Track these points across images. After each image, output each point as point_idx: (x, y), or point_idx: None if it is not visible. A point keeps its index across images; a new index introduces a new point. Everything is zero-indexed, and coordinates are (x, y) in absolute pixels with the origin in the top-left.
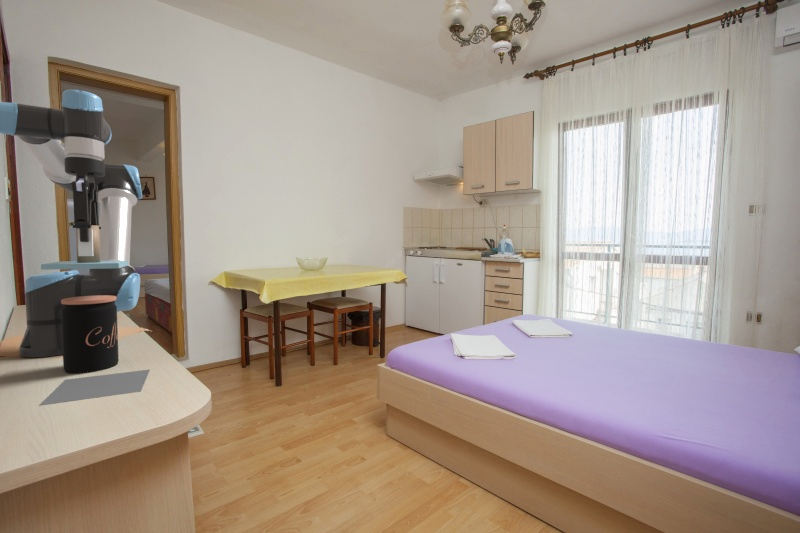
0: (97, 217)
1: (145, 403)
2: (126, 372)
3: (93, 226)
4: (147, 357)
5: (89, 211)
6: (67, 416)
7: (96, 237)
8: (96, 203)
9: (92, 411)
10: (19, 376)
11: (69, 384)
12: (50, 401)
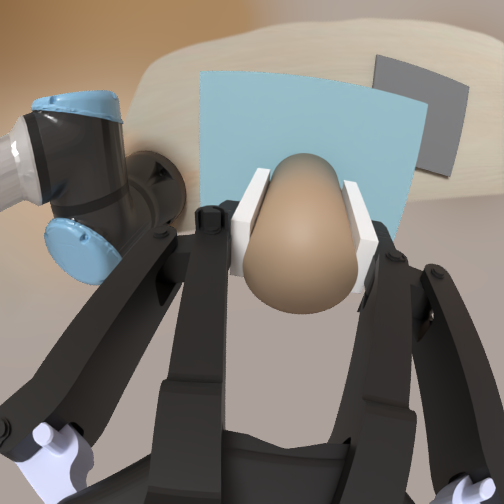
0: (153, 265)
1: (492, 91)
2: (375, 83)
3: (351, 242)
4: (266, 51)
5: (410, 325)
6: (482, 154)
7: (334, 200)
8: (97, 353)
9: (484, 134)
10: None
11: None
12: (445, 167)
